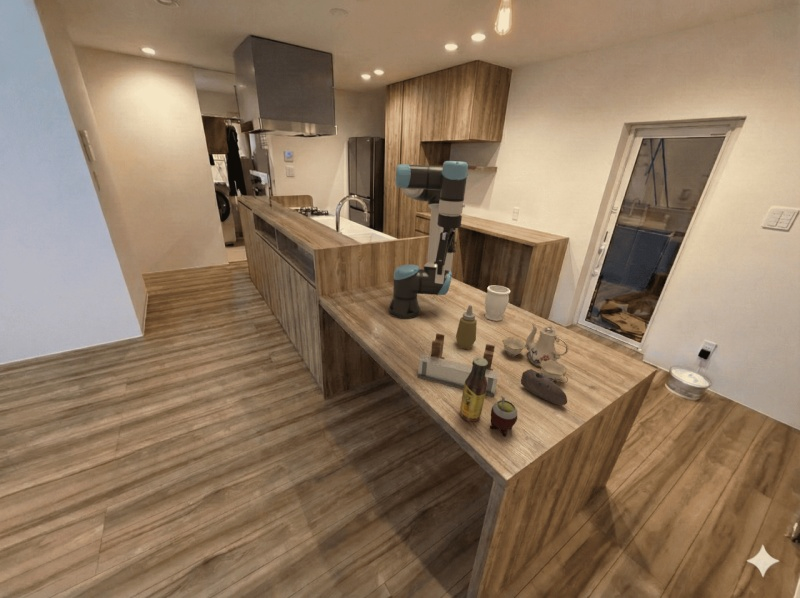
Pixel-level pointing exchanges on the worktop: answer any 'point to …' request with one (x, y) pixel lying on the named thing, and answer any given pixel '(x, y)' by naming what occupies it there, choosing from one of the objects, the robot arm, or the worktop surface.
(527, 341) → the chinaware
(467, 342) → the squeeze bottle
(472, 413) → the sauce bottle
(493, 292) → the jar
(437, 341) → the standard left
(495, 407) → the mate gourd
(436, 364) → the rail
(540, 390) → the perforated stone tool
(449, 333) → the worktop surface
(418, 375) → the mat
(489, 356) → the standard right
